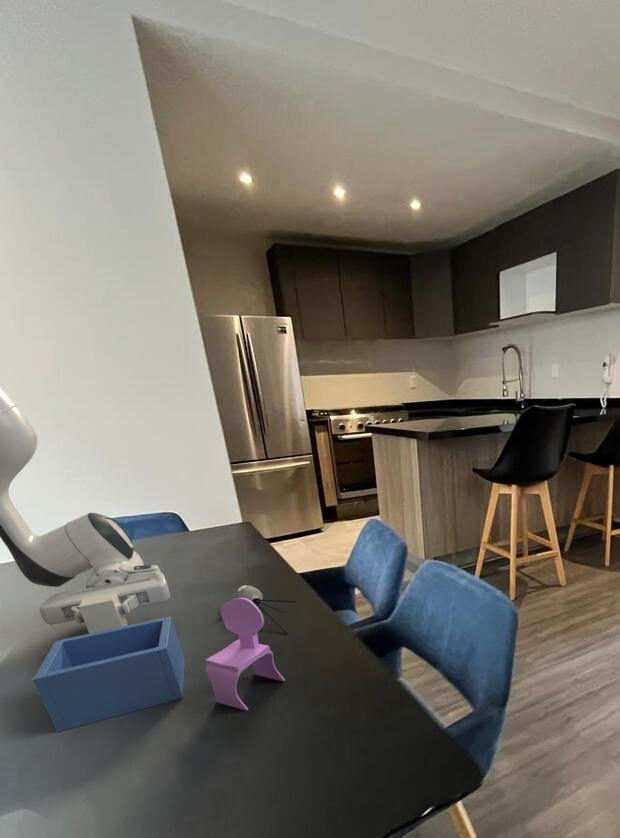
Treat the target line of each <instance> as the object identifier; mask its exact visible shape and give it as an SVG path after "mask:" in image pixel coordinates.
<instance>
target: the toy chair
mask: <svg viewBox="0 0 620 838" xmlns="http://www.w3.org/2000/svg"><path fill="white" fill-rule="evenodd" d="M222 605H223V606H222ZM222 605H221V607H220V616H221V618H222V621H223V623H224V626H225V627H226V630H228V631H230V632H231V633H233V634H235V635H237V637H238V639H236V640H235V641H234V642H232V643H230V644H229V645H227V647H225V648H223V649H222V650H220V651H218V652H217V653H215V654H212V655H211V656H209V657H208V658H206V659H205V663H206V667H205V672H206V675H207V678H208V680H209V682H210V684H211V687H212V690H213V692H214V696H215V702H216V703H218V704H222V705H225V706H228V707H232V708H236V709H239V710H243V711H247V712H248V711H249V707H248V706H246V704H245V703H244V702H243V701H242V699H241V697H240V696H239V694H238V692H237V686H238V681H239V678H240V675H241V673H242V672H244V670H246V669H247V668H248V667H249V666H250V665H252V666H253V671H254V675H256V676H259V677H264V678H267V679H272V680H275V681H280V682H285V681H286V679H285V678H284V677H283V675H282V674H281V673H280V672H279V670H278V669H277V667H276V665H275V662H274V652H273V651H272V650H271V648H270V647H271V646H270V645H266V644H261V643H259V636H258V633H259V632H260V629H261V630H262V628H263V627H264V625H265V619H264V615H263V614H262V611H261V609H260V608H259V607H257V606H256V605H255V604H254V603H253V602H252V601H251V600H249V599H247V598H237V599H236V598H232V599H230V600H228V601H226V602H225V603H223V604H222Z"/></svg>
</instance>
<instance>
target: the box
mask: <svg viewBox="0 0 620 838" xmlns="http://www.w3.org/2000/svg"><path fill="white" fill-rule="evenodd" d="M185 666H186V659H185V657H184V654H183V650H182V647H181V644H180V641H179V637H178V635H177V632H176V628H175V624H174V622H173V619H172V616H170V615H169V616H165V617H159V618H156V619H151V620H146V621H142V622H136V623H132V624H128V625H127V626H122V627H118V628H113V629H109V630H104V631H99V632H95V633H90V634H89V633H85V634H81V635H76V636H71V637H68V638H63V639H58V640H55V641H54V642H53V644H52V646H51V648H50V649H49V651H48V653H47V655H46V656H45V658H44V660H43V662H42V663H41V664H40V667H39V669H38V670H37V672H36V674H35V675H34V677H33V679H32V681H33V683H34V686H35V688H36V690H37V692H38V694H39V696H40V699H41V701H42V703H43V705H44V708H45V710H46V711H47V714H48V716H49V718H50V720H51V722H52V724H53V727H54V729H55V731H56V733H59V732H63V731H66V730H71V729H75V728H78V727H81V726H85V725H89V724H93V723H96V722H100V721H103V720H107V719H110V718H111V719H112V718H114V717H118V716H122V715H126V714H130V713H133V712H136V711H140V710H144V709H147V708H151V707H154V706H158V705H162V704H166V703H169V702H173V701H176V700H180V699H183V698H184V682H185V668H186V667H185Z"/></svg>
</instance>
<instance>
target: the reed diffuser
mask: <svg viewBox="0 0 620 838" xmlns="http://www.w3.org/2000/svg"><path fill="white" fill-rule="evenodd" d="M263 596H264V595H263V594H262V592H261V591H260V590H259V589H258V588H256V587H254V586H252V585H245V584H244V585H242V586H240V587H239V588H238V589H236V593H235V599H237V598H247V599H249V600H251V601H252V602H253V603H254V604H255V605H256V606H257V607H258V609H259V610H261V611H262V612H264V614H265V615H266V616H267V617H269V618H270V620H272V621H273V622H274V623H275V624H276V625H277V626H278V627H279V628H280V629H281V630H282V631H283V632H285V634H288V633H289V632H287V630H286V629H285V628H284V627H282V625H281V624H279V623H278V622H277V621H276V620H275V619H274V618H273V617H272V615H270V614H269V613H268V612H267V611H266V610H265V609H264V608H263V607H262V606H261V605H264V606H266V607H269V608H270V609H273V610H275V611H278V612H280V613H283V614H286V611H285V610H281V609H279V608H277V607H274V606H272V605H269V604H267V603H265V602H277V603H278V602H281V603H296V600H282V599H281V600H280V599H264V598H263ZM223 605H224V604H222V605H221V607H222V606H223ZM259 632H263V630H262V628H261V629H260V630H259Z"/></svg>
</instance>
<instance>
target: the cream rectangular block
mask: <svg viewBox="0 0 620 838" xmlns="http://www.w3.org/2000/svg"><path fill="white" fill-rule="evenodd" d="M118 603H120V601H119V599H118V596H117V593H116V592H112V593H107V594H102V595H97V596H92V597H87V598H83V600H82V602H81V603H80V605H79V609H80V612H81V614H82V617H83V619H84V623H85V627H86V629H87V632H88V634H90V633H95V632H99V631H104V630H109V629H113V628H118V627H122V626H127V625H129V624H128V621H127V618H126V616H125V615H126V614H123V615H120V614H119V611H118V608H117V606H118Z"/></svg>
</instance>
